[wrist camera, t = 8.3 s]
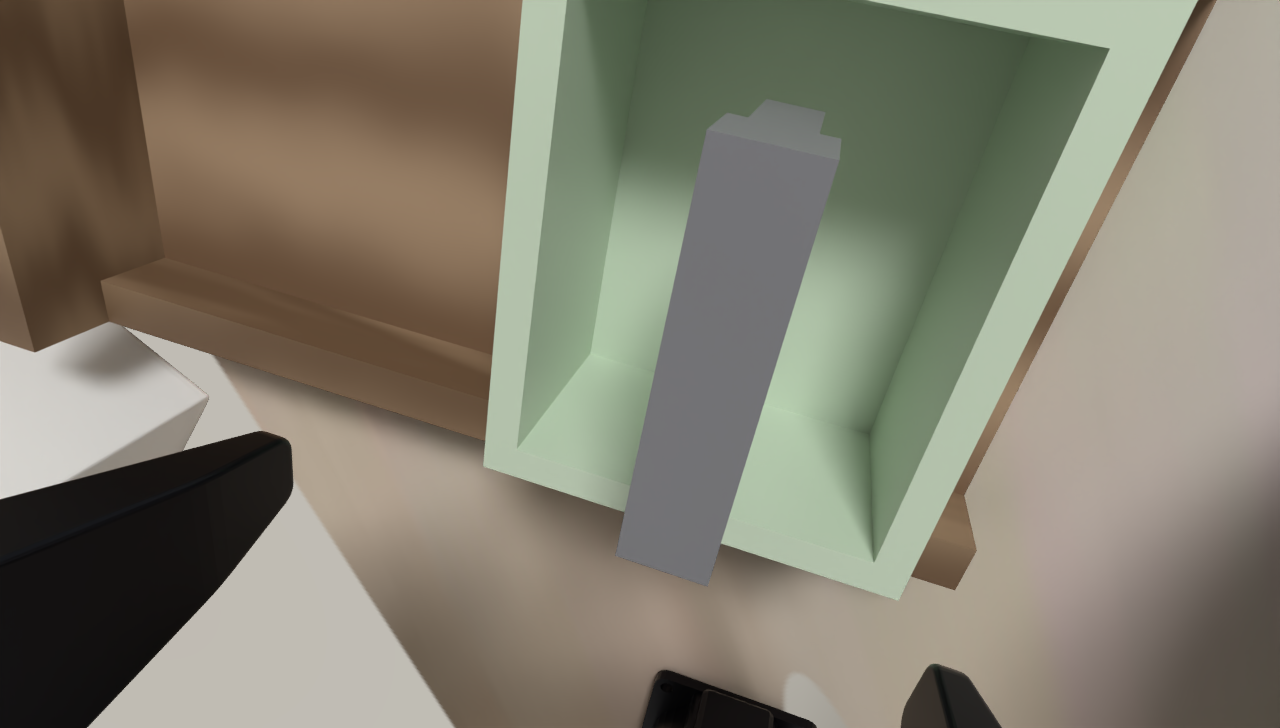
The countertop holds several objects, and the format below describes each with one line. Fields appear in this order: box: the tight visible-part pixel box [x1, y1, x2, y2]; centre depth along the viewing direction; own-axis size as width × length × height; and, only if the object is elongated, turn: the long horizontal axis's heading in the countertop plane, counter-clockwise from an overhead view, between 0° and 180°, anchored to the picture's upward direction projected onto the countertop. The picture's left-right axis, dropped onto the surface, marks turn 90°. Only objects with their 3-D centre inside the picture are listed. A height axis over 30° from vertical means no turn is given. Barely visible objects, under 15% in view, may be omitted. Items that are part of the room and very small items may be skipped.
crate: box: [483, 0, 1198, 601], centre depth 14 cm, size 12×10×10 cm
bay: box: [0, 0, 1217, 590], centre depth 18 cm, size 17×30×6 cm, turn 80°
